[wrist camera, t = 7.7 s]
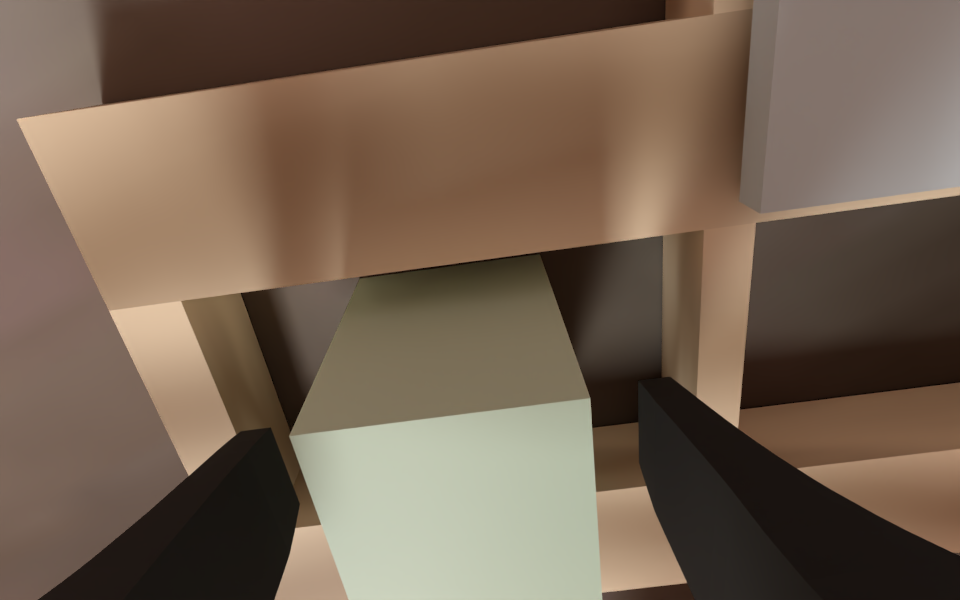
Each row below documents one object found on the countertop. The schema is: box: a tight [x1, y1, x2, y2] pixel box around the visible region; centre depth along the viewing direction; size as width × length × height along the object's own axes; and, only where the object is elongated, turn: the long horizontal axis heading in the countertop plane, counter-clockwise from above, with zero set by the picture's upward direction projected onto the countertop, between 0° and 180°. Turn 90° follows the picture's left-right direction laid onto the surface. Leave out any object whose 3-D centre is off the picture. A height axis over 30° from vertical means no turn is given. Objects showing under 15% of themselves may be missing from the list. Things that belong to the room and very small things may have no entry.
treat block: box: [289, 254, 602, 600], centre depth 12 cm, size 4×4×6 cm
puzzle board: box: [17, 0, 960, 600], centre depth 12 cm, size 18×24×2 cm
